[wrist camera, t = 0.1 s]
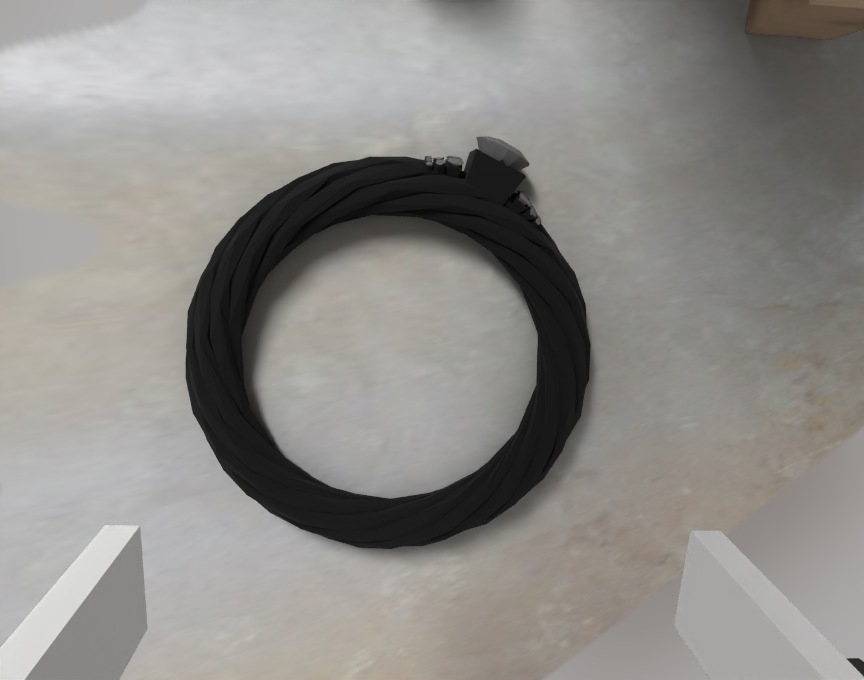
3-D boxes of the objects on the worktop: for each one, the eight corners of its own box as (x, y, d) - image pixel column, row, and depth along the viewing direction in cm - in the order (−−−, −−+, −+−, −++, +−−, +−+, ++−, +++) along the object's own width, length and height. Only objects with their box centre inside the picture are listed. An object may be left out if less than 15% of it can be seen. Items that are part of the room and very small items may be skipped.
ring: (111, 467, 39) (299, 24, 33) (135, 443, 42) (308, 41, 37) (478, 613, 43) (697, 247, 38) (471, 580, 47) (670, 242, 41)
